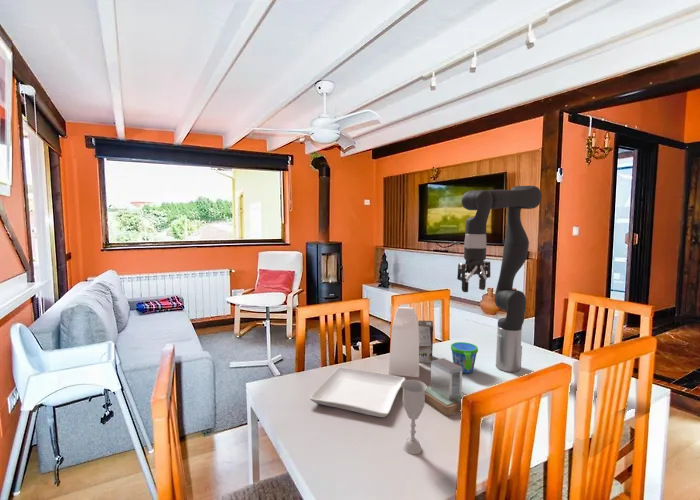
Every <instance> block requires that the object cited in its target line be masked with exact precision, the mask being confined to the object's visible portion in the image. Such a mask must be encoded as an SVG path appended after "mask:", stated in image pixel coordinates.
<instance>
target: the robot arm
mask: <svg viewBox="0 0 700 500" xmlns="http://www.w3.org/2000/svg"><path fill="white" fill-rule="evenodd" d="M541 202H542V191H541V189H540V188H539V187H538V186H535V185H516V186H512V188H511V189H489V190H487V189H486V190H485V189H482V190H481V189H480V190H479V189H478V190H468V191H466V192H465V193H464V194H463V195H462V197H461V206H463V208H464V209H466V210H468V211H476V213H475V215H474V216H470V217H468V218H467V219H466V221H465V235H464V236H465V237H464V242H463V243H464V245H463V249H464V250H463V259H464V260H465V263H460V262H459V263H458V265H457V278H456V279H457V281H461V291H462V292H463V293H468V292H469V281H470V278H472V277H473V276H476V275H477V277H478V278H479V280H478V282H479V283H478V289H479V290H481V291H482V290H483V291H484V290H486V284H487V282H486V281H487V279H488V278H491V261H486V259H487V243H488V241H487V223H488V220H489V215H490V212H491V210H495V209H496V210H497V209H504V208H505V209H506V208H507V220H506V221H507V222H506V223H507V224H506V229H505V230H506V232H505V238H504V244H503V250H502V259H501V265H500V271H499V272H500V273H499V277H498V281H497V284H496V289H495V294H494V304H495V306H496V307H497V308H498V309H500V310H503V311H505V312H506V315H505V316H506V317H501V318H499V319H498V320H497V329H496V330H497V331H496V334H497V335H496V353H495V354H496V355H495V356H496V357H495V367H496V368H497V369H498V370H500V371H503V372H507V373H516V372H520V370H521V368H522V357H523V356H522V355H523V346H522V333H523V332H522V330H523V325H524V321H525V316H526V307H527V306H526V305H527V297H526V295H525V293H524V292H523V291H520V290H518V289H514V288H513V286H514V280H515V278H516V275H517V274H518V272H519V270H520V269H521V268H522V267H523V266H524V265H525V262H527V259H528V254H529V248H530V247H529V246H530V241H529V238H528V235H527V232H526V230H525V228H524V226H523V224H522V219H521V213H522V210H532V209H535V208H537V207H538V206H539V205H540V204H541Z"/></svg>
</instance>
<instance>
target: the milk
mask: <svg viewBox="0 0 700 500" xmlns="http://www.w3.org/2000/svg"><path fill="white" fill-rule="evenodd" d="M418 322H419V320H418V317H417V314H416V311H415V309H414V307H405V306H403V307H402V306H398V307H397V310H396V312H395V314H394V318H393V321H392V326H391V335H390V352H389V365H388V375H393V376H399V377H414V378H420V362H419V324H418Z"/></svg>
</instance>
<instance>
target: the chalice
mask: <svg viewBox="0 0 700 500" xmlns="http://www.w3.org/2000/svg"><path fill="white" fill-rule="evenodd" d="M401 386H402V387H401V388H402V404H403V407H404V410H405V413H406V415H407V416H408V417H407V418H409V419H411V422H410V430H409V433H410V437H408V438H407V439H406V440H405V442H404V444H403V446H402V447H403V450H404V452H406V453H407V454H410V455H419V454H420V453H421V452H422V451H423V448H422V447H421V443H420V441H419V440H418V438H416V437H415V434H416V433H417V431H416V426H417V425H416V420H418V419H419V417H420V416H421V414H422V412H423V409H424V407H425V390H426V388H427V387H428V386H427V384H426V383H425V382H423V381H421V380H417V379H405V381H403V382H402V384H401Z"/></svg>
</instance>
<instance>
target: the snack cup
mask: <svg viewBox="0 0 700 500" xmlns="http://www.w3.org/2000/svg"><path fill="white" fill-rule="evenodd" d="M450 350H451V353H452V362H453V363H455V364H457V365H459V366H461V367H462V374H470V373H472V372H474V370H475V369H474V368H475V363H476V358H477V353H478V352H479V347H478V345H475V344H473V343H470V342H463V341H462V342H461V341H458V342H453V343H451V344H450Z"/></svg>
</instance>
